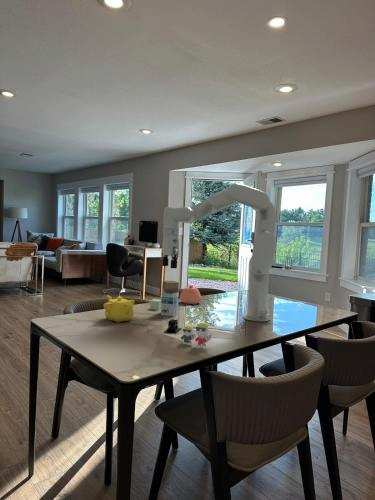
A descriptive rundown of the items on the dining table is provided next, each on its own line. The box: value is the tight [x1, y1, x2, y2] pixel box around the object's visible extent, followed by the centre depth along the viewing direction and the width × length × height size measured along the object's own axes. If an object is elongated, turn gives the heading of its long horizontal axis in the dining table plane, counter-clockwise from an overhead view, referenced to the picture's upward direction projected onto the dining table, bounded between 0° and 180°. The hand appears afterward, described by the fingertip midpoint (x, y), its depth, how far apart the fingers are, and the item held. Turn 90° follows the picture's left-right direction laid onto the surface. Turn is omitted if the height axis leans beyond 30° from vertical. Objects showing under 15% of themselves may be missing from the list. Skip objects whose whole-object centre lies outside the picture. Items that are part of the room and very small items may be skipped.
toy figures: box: [180, 322, 213, 350], centre depth 128 cm, size 12×4×8 cm, turn 56°
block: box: [161, 280, 180, 293], centre depth 175 cm, size 6×6×5 cm
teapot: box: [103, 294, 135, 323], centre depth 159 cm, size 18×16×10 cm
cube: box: [149, 298, 161, 311], centre depth 185 cm, size 4×4×4 cm
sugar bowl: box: [179, 284, 202, 305], centre depth 204 cm, size 12×14×10 cm
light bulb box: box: [160, 290, 180, 317], centre depth 175 cm, size 11×7×11 cm, turn 170°
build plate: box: [163, 318, 183, 335], centre depth 146 cm, size 12×7×5 cm, turn 166°
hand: (169, 267), depth 177 cm, fingers open, 9 cm apart
